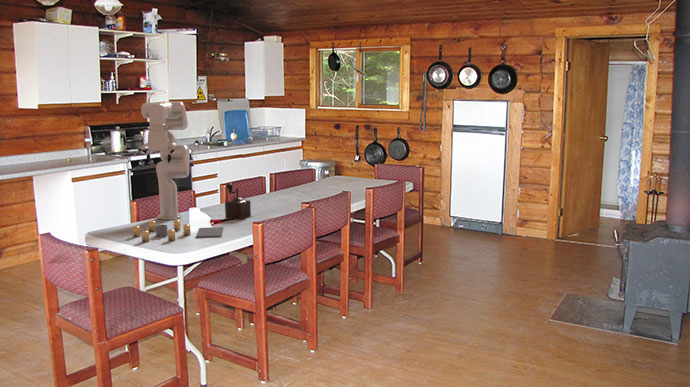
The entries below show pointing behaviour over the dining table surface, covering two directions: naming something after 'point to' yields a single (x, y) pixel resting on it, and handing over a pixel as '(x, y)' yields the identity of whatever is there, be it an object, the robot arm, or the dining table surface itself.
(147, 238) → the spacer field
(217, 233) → the mat
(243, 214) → the dark brown coffee grinder
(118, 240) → the dining table surface
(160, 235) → the dark grey block
